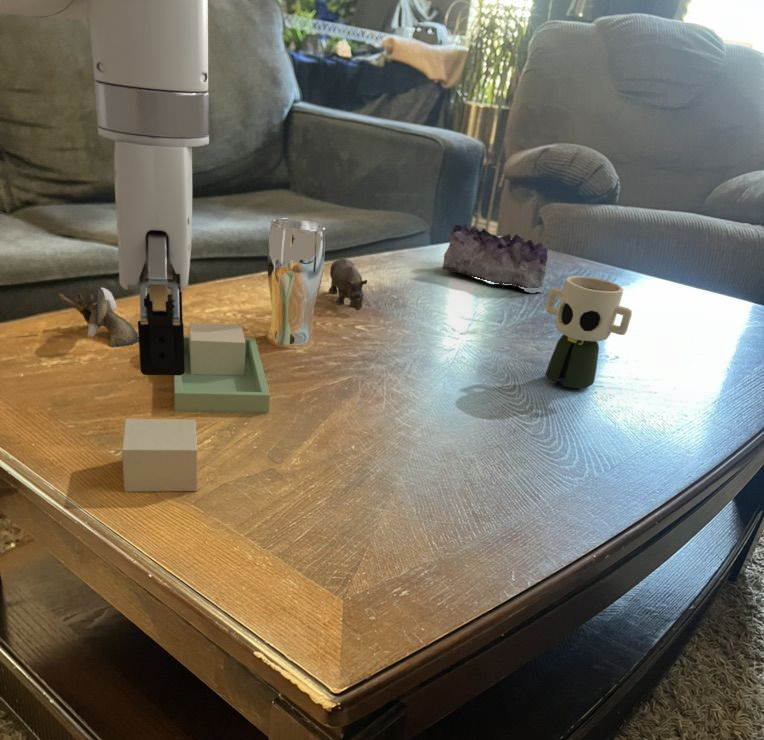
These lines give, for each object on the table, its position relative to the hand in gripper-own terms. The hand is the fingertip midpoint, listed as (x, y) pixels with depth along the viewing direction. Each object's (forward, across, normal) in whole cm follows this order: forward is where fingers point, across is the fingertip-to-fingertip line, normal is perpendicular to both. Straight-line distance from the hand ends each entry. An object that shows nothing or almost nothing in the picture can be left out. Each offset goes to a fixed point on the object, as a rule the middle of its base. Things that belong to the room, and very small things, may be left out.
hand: (163, 350), depth 63 cm
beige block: (+11, -26, +5) cm, 28 cm away
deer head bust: (+11, -34, -8) cm, 37 cm away
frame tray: (+12, -21, +5) cm, 25 cm away
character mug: (+12, -24, +50) cm, 57 cm away
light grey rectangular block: (+12, 0, -1) cm, 12 cm away
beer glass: (+12, -35, +15) cm, 40 cm away
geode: (+12, -73, +57) cm, 94 cm away
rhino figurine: (+12, -53, +26) cm, 61 cm away
